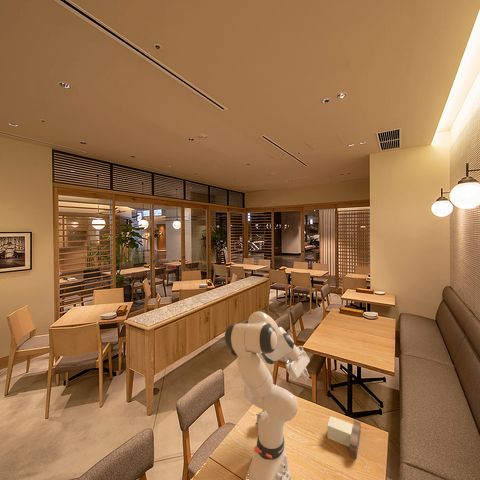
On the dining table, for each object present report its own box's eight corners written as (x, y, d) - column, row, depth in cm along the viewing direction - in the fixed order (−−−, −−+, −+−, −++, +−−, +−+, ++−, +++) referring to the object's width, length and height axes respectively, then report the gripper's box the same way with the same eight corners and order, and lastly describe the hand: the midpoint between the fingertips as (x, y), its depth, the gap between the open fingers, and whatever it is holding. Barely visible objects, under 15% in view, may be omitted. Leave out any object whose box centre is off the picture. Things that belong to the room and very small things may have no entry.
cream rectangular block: (350, 448, 120) (350, 434, 120) (327, 438, 126) (327, 425, 125) (352, 437, 126) (352, 424, 125) (330, 428, 132) (330, 415, 131)
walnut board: (356, 458, 115) (356, 446, 114) (349, 455, 116) (349, 443, 116) (360, 432, 128) (360, 422, 128) (354, 430, 130) (354, 419, 129)
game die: (262, 430, 136) (262, 408, 142) (274, 432, 131) (274, 409, 137) (251, 430, 131) (252, 407, 137) (264, 432, 126) (264, 409, 131)
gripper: (288, 361, 127) (305, 387, 123) (302, 344, 144) (317, 367, 140) (280, 366, 130) (296, 391, 126) (294, 349, 147) (309, 371, 143)
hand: (307, 378), depth 133 cm, fingers closed
